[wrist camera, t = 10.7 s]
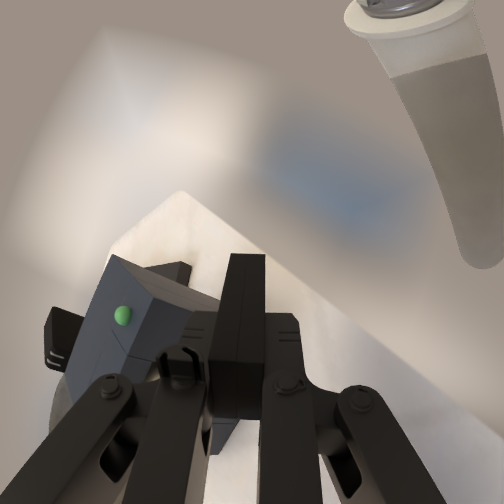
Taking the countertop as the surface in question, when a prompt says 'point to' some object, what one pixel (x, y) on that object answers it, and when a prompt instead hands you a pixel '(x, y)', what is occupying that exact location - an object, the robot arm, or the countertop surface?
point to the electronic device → (60, 337)
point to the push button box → (173, 271)
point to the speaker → (135, 330)
